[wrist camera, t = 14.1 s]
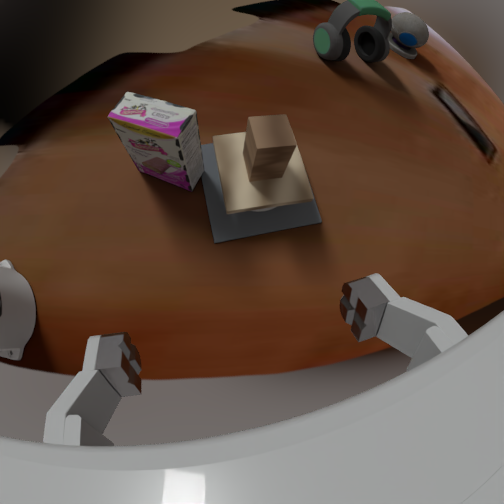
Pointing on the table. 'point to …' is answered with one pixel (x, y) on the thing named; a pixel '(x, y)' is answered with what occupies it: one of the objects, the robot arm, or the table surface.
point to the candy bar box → (160, 138)
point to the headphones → (366, 38)
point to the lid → (261, 166)
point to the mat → (248, 221)
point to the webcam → (407, 34)
